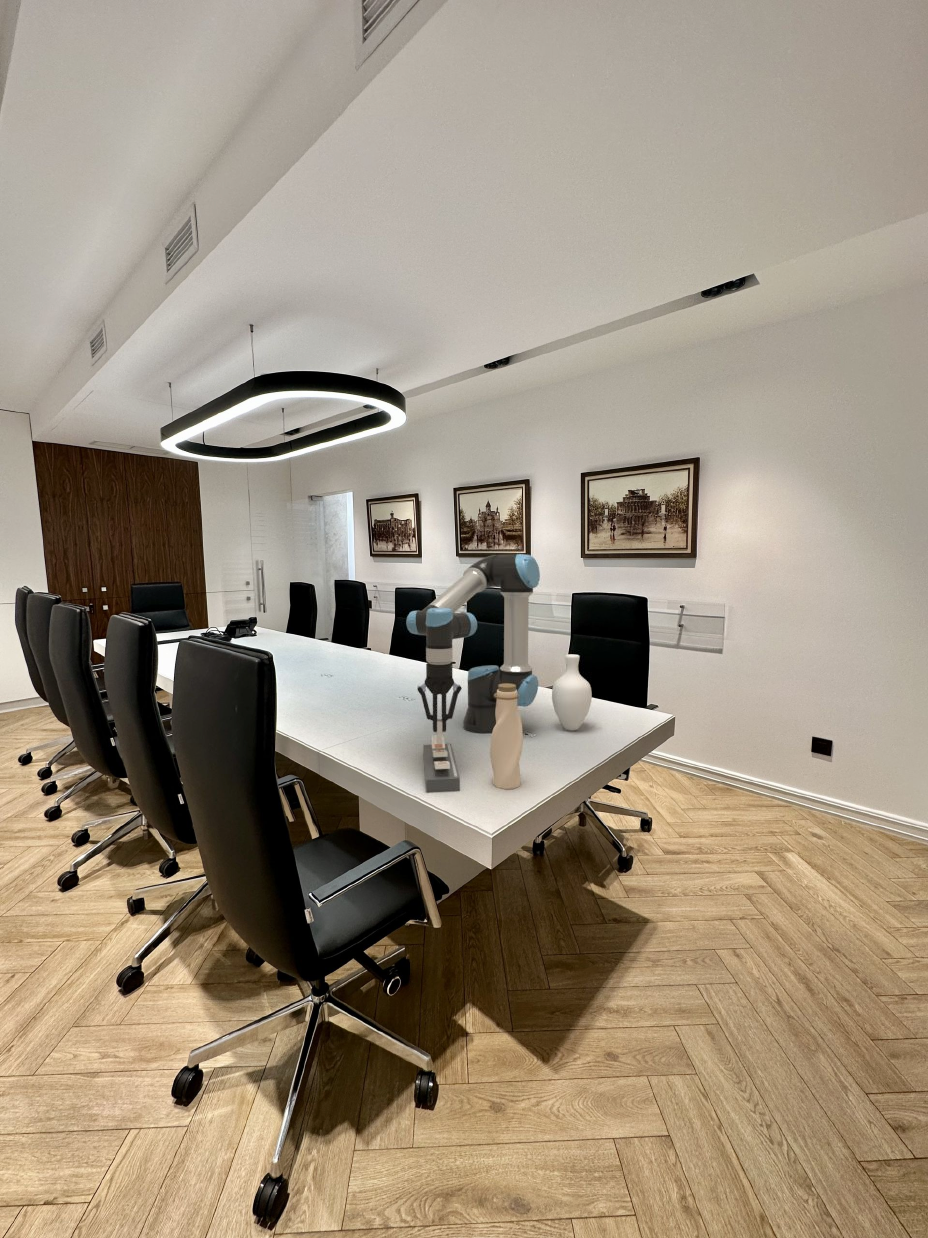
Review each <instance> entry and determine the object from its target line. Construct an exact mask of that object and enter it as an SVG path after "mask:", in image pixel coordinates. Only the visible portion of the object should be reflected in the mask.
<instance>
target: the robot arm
mask: <svg viewBox="0 0 928 1238" xmlns="http://www.w3.org/2000/svg"><path fill="white" fill-rule="evenodd" d="M540 573H541V572H540V567H539V564H538V562H537V560H536V559H535V558H534V557H533V556H532V555H531V554H522V553H517V554H491V555H488V556H486V557H484V558H482V559H479V560H477V561H476V562H474V563H473V564H471V565H470V566H469V567H468V568H466V569H465V570H464V571H463V576H462V577H460V578H458V579H457V581H455V582H453V584H452V585H450V586H449V587H448V588H447V589H445V591H444V592H442V593H441V594H440V595H439V596H437V597H436V599H434V600H433V601H432V602H431V603H430V604H428V605H427V606H426V607H424V608H423V609H422V610H419V609H418V610H412V611H410V612H409V614H408V615H407V617H406V621H405V622H406V623H405V624H406V628H407V630H408V631H409V633H410V634H412V635H413V634H414V635H419V636H426V645H425V652H426V653H425V655H426V656H425V659H426V662H427V663H426V664H425V665H426V666H425V667H426V668H425V670H426V673H425V675H426V676H425V679H424V683H422V684H421V685H418V686H417V692H418V693H419V695H420V696H421V700H422V703H423V708H424V712H425V716H426V719H427V720H430V721H432V731H433V733H436V735H437V744H442V735H443V733H446V732H447V722H448V720H452V719H453V717H454V713H455V709H456V704H457V701H458V696H459V694H460V692H461V691H462V686H461V685H460V684H457V683H455V680H454V678H453V663H452V662H453V640H457V639H463V638H464V639H466V638H468V637H470V636H473V635H474V634H475V633H476V631H477V629H478V621H477V619H476V617H475V615H474V614H472V613H471V612H463V611H462V612H457V611H458V610H459V609H460V608H462V607H463V606H464V605H465V604H466V603H467V602H468V601H469V600H471V598H472V597H474V596H475V595H476V594H477V593H481V592H483V591H484V590H485V589H487V588H494V587H495V588H499V592H500V594H501V595H502V596H503V598H504V599H503V600H504V613H503V614H504V619H503V621H504V623H503V625H504V627H503V629H504V630H503V631H504V632H503V639H504V640H503V650H504V651H503V664H502V665H501V666H500V667H499V666H498V665H493V664H492V665H491V664H490V665H481V666H475V667H472V668H470V669H469V670H468V672H467V680H466V681H467V709H466V712H465V715H464V719H463V722H462V723H463V724H462V726H463V729H464V730H466V731H469V732H471V733H477V734H478V733H480V734H489V733H492V732H493V729H494V727H495V725H496V716H495V710H496V702H497V698H495V697H494V694H495V693H497V690H498V685H499V684H505V683H508V684H515V685H516V690H517V694H519V698H517V707H528V706H530V705H532V704H533V702H534V701H535V698H536V696H537V694H538V689H539V679H538V677H537V675H535V674H533V667H531V665H530V664H529V612H530V611H529V609H530V608H529V606H530V605H529V603H530V602H529V600H530V599H529V598H530V596H532V594H533V593H534V589H536V588H537V587H538V585H539V583H540V577H541V574H540ZM451 689H452V691H453V692H452V695H451V699H450V704H449V707H448V713H447V694H448V693H449V691H451ZM427 690H428V691H429V692H430V694H432V714H431V712H430V708H429V703H428V699H427V695H426V691H427ZM439 695H440V696H441V718H439V719H438V696H439ZM496 696H497V695H496Z"/></svg>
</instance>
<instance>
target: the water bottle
mask: <svg viewBox="0 0 928 1238" xmlns="http://www.w3.org/2000/svg"><path fill="white" fill-rule="evenodd" d="M496 695H497V696H496ZM494 697H495V698H497V702H496V710H495V716H496V725H495V727H494V729H493V732H491V736H490V747H489V752H490V753H489V755H490V764H491V768H492V773H493V775H492V776H493V779H492V783H493V785H494V786H495V787H496V788H498V789H503V790H513V789H516V788H519V787H520V786H521V768H520V759H521V756H522V752H523V751H522V750H523V743H524V735H523V734H524V733H523V723H522V718H521V716H520V712H519V710H518V706H517V698H519V694H517V690H516V685H515V684H508V683H505V684H499V685H498V690H497V693H495V694H494Z"/></svg>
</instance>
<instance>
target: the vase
mask: <svg viewBox="0 0 928 1238" xmlns="http://www.w3.org/2000/svg"><path fill="white" fill-rule="evenodd" d="M580 657H581V655H579V654H571V653H570V654H565V655H564V658H565V664H566V665H565V671H564V673H563V674H562V675H561V676H560V677H559V678H557V679H556V680H555V681H554V683H553V686H552V688H551V689H552V690H551V700H552V706H553V709H554V712H555V714H556V716H557V718H558V721H559V722H560V724H561V726H562V727H563V728H564V730H566V731H571V732H573V731H574V732H575V731H578V729H580V728H581V726H582V724H583V723H584V721H585V719H586V717H587V716H588V714H589V711H590V708H591V704H592V697H593V696H592V695H593V694H592V687H591V684H590V683H589V681H587V679H585V678H584V677H583V676H582V675H581V674H580V671H579V662H580Z"/></svg>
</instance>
